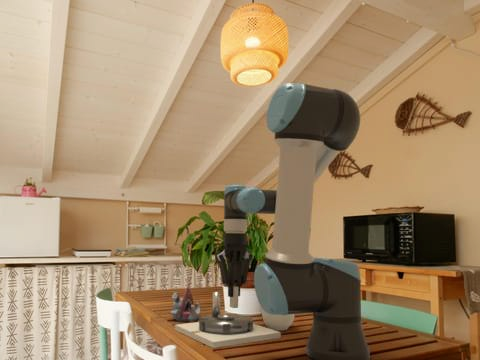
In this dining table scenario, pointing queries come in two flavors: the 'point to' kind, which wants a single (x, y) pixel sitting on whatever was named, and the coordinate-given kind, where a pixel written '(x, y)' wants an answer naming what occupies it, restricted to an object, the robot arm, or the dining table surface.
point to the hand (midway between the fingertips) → (233, 307)
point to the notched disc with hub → (224, 320)
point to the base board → (227, 335)
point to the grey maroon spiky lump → (185, 307)
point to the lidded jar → (277, 321)
